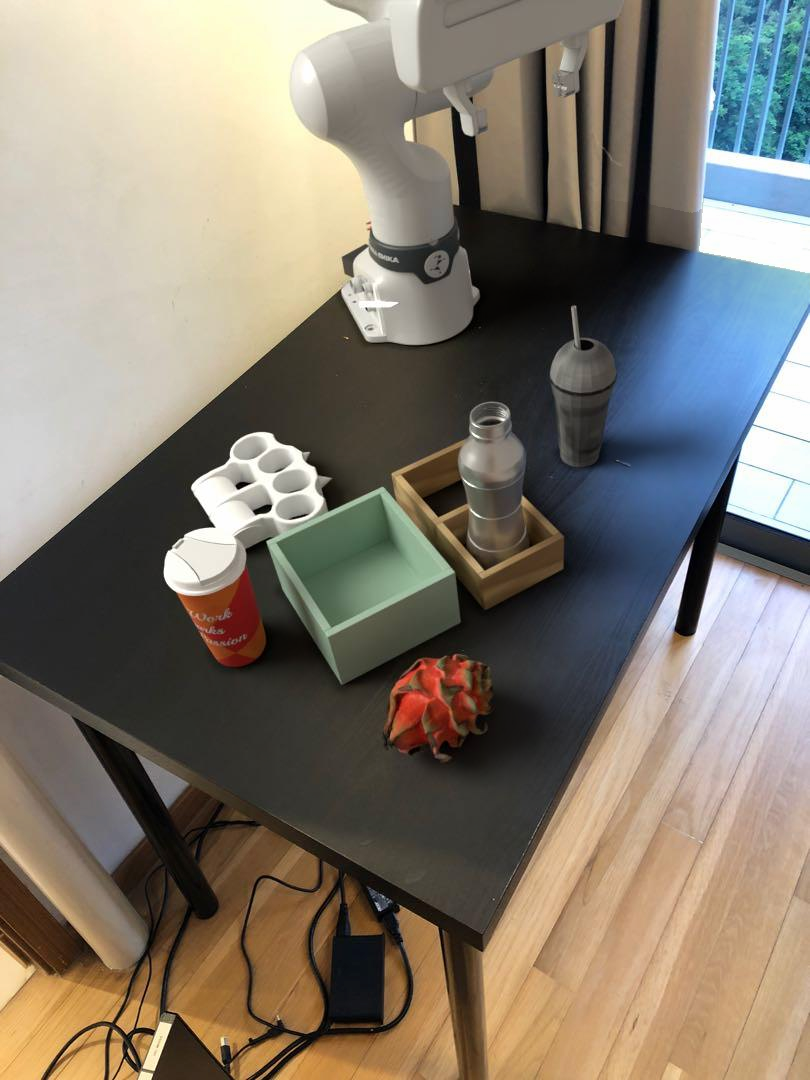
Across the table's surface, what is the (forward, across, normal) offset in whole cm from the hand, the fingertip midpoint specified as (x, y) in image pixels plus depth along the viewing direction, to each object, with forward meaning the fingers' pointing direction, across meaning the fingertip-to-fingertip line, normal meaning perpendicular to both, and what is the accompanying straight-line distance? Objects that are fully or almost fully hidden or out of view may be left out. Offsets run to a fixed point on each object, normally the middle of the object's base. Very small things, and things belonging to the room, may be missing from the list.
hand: (521, 113), depth 74 cm
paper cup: (+39, +40, 0) cm, 56 cm away
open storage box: (+40, +27, +3) cm, 48 cm away
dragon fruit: (+42, +29, +19) cm, 54 cm away
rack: (+40, +13, +1) cm, 42 cm away
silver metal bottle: (+41, +13, +6) cm, 43 cm away
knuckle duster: (+38, +29, -18) cm, 51 cm away
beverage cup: (+41, -4, -2) cm, 41 cm away
